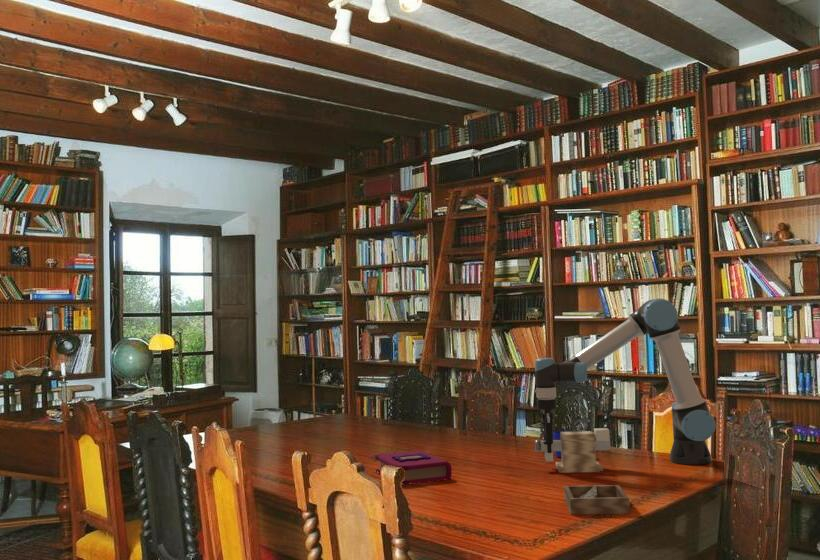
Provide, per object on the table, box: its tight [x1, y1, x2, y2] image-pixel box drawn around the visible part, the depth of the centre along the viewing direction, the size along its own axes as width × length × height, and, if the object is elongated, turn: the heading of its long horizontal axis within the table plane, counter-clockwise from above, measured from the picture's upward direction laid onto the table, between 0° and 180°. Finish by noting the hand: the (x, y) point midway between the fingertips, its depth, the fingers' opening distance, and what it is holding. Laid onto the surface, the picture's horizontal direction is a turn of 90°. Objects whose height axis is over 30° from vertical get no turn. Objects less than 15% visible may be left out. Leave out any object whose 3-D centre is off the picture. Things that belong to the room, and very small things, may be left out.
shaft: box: [534, 439, 612, 453], centre depth 283 cm, size 28×4×4 cm, turn 84°
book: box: [374, 449, 452, 486], centre depth 282 cm, size 21×28×8 cm
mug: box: [552, 430, 572, 459], centre depth 307 cm, size 8×12×10 cm
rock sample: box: [580, 483, 600, 498], centre depth 228 cm, size 10×8×9 cm
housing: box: [555, 430, 604, 474], centre depth 283 cm, size 16×14×13 cm
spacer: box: [593, 427, 611, 442], centre depth 283 cm, size 5×5×4 cm
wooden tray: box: [563, 484, 631, 515], centre depth 226 cm, size 17×17×4 cm
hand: (549, 459), depth 284 cm, fingers closed on shaft, 4 cm apart
